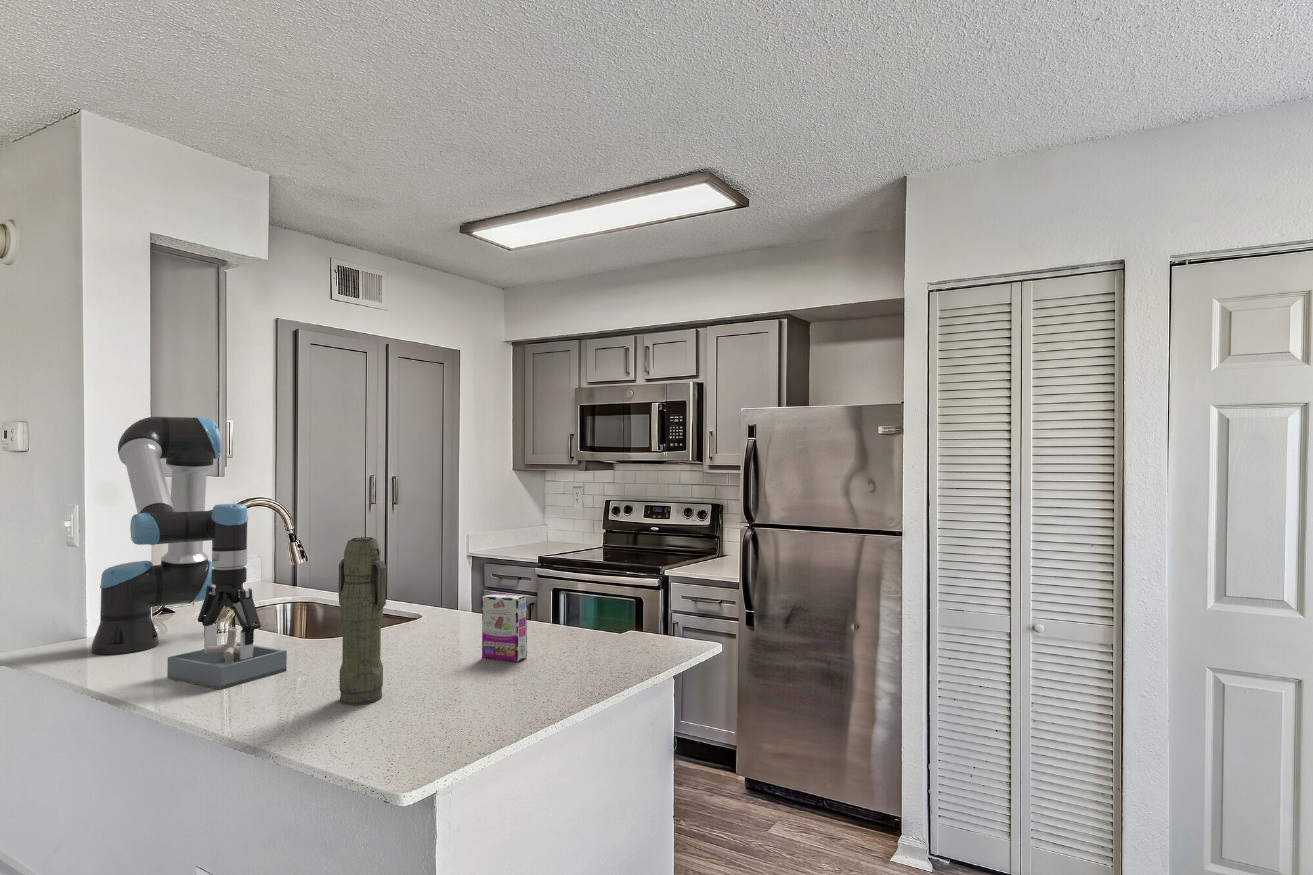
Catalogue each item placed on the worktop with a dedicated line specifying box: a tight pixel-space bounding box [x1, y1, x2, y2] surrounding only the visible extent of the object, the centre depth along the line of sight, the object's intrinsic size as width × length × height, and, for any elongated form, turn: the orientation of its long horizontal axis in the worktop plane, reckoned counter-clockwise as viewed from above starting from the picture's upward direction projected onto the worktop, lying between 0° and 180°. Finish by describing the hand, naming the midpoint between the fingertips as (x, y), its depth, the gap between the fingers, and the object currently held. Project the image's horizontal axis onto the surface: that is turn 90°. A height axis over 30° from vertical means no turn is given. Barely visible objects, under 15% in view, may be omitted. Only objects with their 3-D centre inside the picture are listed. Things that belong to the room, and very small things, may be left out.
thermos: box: [338, 536, 388, 706], centre depth 168 cm, size 9×12×35 cm
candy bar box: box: [481, 593, 528, 663], centre depth 201 cm, size 11×5×16 cm, turn 68°
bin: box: [166, 641, 288, 690], centre depth 186 cm, size 20×17×5 cm
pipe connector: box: [206, 628, 254, 665], centre depth 186 cm, size 10×10×10 cm
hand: (228, 655), depth 186 cm, fingers open, 13 cm apart
